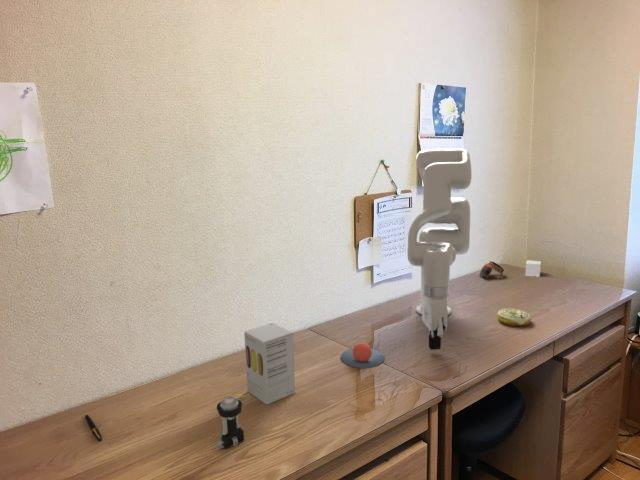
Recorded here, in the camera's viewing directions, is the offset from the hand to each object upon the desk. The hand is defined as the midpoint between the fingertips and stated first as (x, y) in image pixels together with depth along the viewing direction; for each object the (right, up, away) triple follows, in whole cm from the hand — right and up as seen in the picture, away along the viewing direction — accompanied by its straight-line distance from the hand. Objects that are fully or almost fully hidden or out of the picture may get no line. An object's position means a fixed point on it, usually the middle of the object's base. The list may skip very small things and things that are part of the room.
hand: (434, 348), depth 146 cm
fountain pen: (-87, -12, -33) cm, 94 cm away
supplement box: (-47, -7, -19) cm, 52 cm away
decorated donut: (+33, +4, +23) cm, 40 cm away
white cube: (+64, +16, +78) cm, 102 cm away
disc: (-22, -2, -2) cm, 22 cm away
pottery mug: (+43, +15, +75) cm, 88 cm away
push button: (-54, -12, -41) cm, 69 cm away
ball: (-22, 0, -4) cm, 23 cm away
